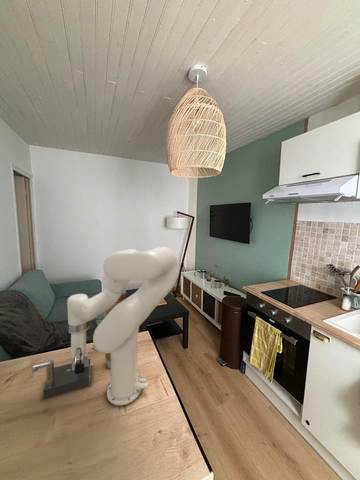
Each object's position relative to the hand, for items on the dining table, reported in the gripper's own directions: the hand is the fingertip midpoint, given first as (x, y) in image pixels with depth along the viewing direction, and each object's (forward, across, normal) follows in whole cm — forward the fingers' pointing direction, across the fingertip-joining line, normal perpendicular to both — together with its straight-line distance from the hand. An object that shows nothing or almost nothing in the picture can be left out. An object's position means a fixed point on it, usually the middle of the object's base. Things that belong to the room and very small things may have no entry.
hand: (80, 364), depth 80 cm
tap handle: (+1, 0, 0) cm, 1 cm away
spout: (+1, +5, -12) cm, 13 cm away
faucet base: (+5, +2, -4) cm, 7 cm away
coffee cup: (+5, -2, +13) cm, 14 cm away
